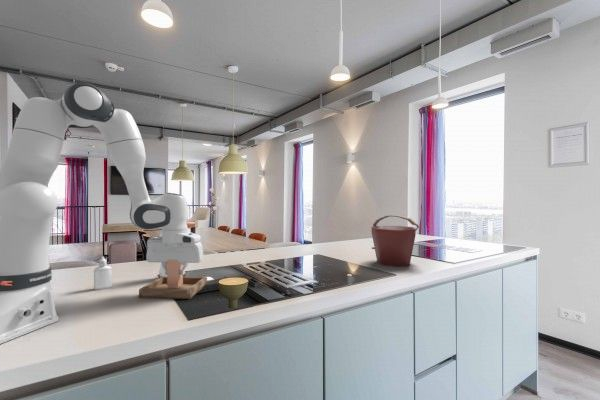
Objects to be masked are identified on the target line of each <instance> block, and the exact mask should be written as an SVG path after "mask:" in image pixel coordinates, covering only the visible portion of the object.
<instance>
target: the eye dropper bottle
mask: <svg viewBox="0 0 600 400" xmlns="http://www.w3.org/2000/svg"><path fill="white" fill-rule="evenodd" d="M112 277H113V273H112V266H110V265H108V262H107V259H106V258H105V256H101V258H100V260H98V266H97V267H95V268H94V270H93V289H94V290H95V291H98V290H99V291H100V290H105V289H106V288H107V289H109V288H112V286H113V278H112Z"/></svg>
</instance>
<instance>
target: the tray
mask: <svg viewBox="0 0 600 400" xmlns="http://www.w3.org/2000/svg"><path fill="white" fill-rule="evenodd" d="M207 286H208V277H207V276H202V277H201V276H183V284H182V285H181V286H179V287H167V277H159V278H157V279H155V280H154V281H152V282H149V283H147V284H146V285H145V286H143V287H140V288H139V289H138V298H139V299H170V300H171V299H177V300H179V299H180V300H181V299H182V300H186V299H188V300H189V299H191V300H192V298H193V297H194V296H196V295H197V294H198V293H199V292H201V291H202V290H203V289H204V288H206V287H207Z"/></svg>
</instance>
